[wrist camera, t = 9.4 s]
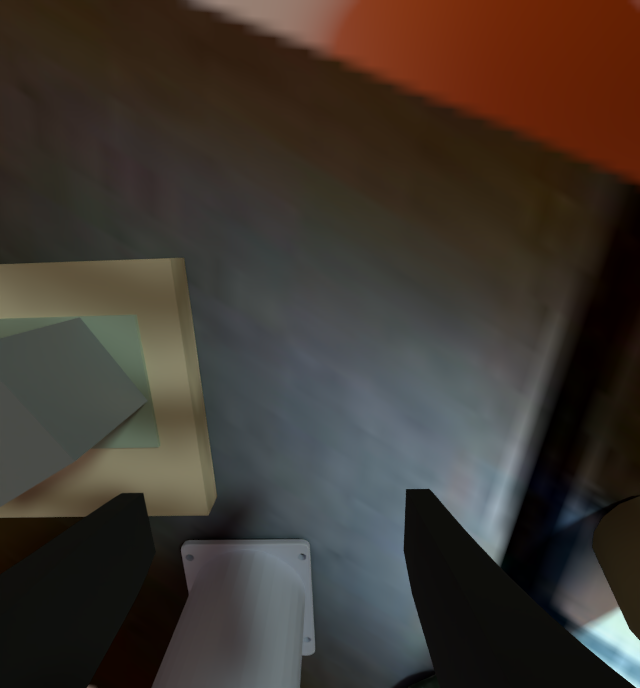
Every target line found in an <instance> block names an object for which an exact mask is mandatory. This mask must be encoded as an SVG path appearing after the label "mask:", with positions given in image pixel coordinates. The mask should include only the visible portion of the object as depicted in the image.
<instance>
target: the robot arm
mask: <svg viewBox="0 0 640 688" xmlns="http://www.w3.org/2000/svg"><path fill="white" fill-rule="evenodd" d="M155 553H156V551H155V547H154V542H153V537H152V532H151V527H150V523H149V518H148V513H147V508H146V503H145V498H144V494H143V493H121V494H119V495H118V496H116V497H114V498H113V499H111V500H110V501H108V502H107V503H105V504H104V505H102V506H101V507H99V508H98V509H96V510H95V511H93V512H92V513H90V514H89V515H87V516H86V517H85V518H83V519H82V520H80V521H79V522H77V523H76V524H74V525H73V526H72V527H70V528H69V529H67V530H66V531H64V532H63V533H61V534H60V535H58V536H57V537H56V538H54V539H53V540H51V541H50V542H48V543H47V544H45V545H44V546H42V547H41V548H40V549H38V550H37V551H35V552H34V553H32V554H31V555H29V556H28V557H26V558H25V559H23V560H22V561H20V562H19V563H17V564H16V565H14V566H12V567H11V568H9V569H8V570H6V571H5V572H3V573H2V574H0V688H87V686H88V685H89V683H90V681H91V679H92V677H93V676H94V674H95V672H96V670H97V668H98V667H99V665H100V663H101V661H102V659H103V658H104V656H105V654H106V652H107V650H108V649H109V647H110V645H111V643H112V641H113V640H114V638H115V636H116V634H117V632H118V630H119V629H120V627H121V625H122V623H123V621H124V619H125V618H126V616H127V614H128V612H129V610H130V608H131V607H132V605H133V603H134V601H135V599H136V597H137V595H138V593H139V591H140V589H141V586H142V584H143V582H144V580H145V577H146V575H147V572H148V570H149V567H150V565H151V562H152V560H153V557H154V555H155ZM181 554H182V560H183V565H184V571H185V576H186V582H187V587H188V593H189V596H188V599H187V601H186V604H185V606H184V608H183V611H182V613H181V616H180V618H179V621H178V623H177V626H176V628H175V631H174V633H173V636H172V638H171V641H170V643H169V646H168V648H167V650H166V653H165V655H164V658H163V660H162V663H161V665H160V668H159V670H158V673H157V675H156V678H155V680H154V683H153V685H152V687H151V688H300V676H301V661H302V655H311V654H313V653H314V652H315V632H314V613H313V594H312V575H311V556H310V544H309V542H308V541H306V540H303V539H268V540H188V541H185V542H184V543H183V545H182V547H181ZM301 554H304V555H301ZM404 554H405V560H406V565H407V570H408V576H409V581H410V586H411V591H412V595H413V598H414V602H415V605H416V609H417V612H418V616H419V619H420V623H421V626H422V629H423V633H424V636H425V639H426V643H427V646H428V650H429V653H430V656H431V660H432V663H433V666H434V670H435V673H436V677H437V680H438V683H439V687H440V688H636V687H635V686H633V685H632V684H631V683H630V682H628V681H627V680H626V679H625V678H623V677H622V676H621V675H619V674H618V673H617V672H616V671H614V670H613V669H612V668H611V667H609V666H608V665H607V664H606V663H605V662H603V661H602V660H601V659H600V658H599V657H597V656H596V655H595V654H594V653H592V652H591V651H590V650H589V649H588V648H587V647H585V646H584V645H583V644H582V643H581V642H580V641H578V640H577V639H576V638H575V637H574V636H573V635H572V634H570V633H569V632H568V631H567V630H566V629H565V628H564V627H562V626H561V625H560V624H559V623H558V622H557V621H556V620H554V619H553V618H552V617H551V616H550V615H549V614H548V613H547V612H546V611H545V610H543V609H542V608H541V607H540V606H539V605H538V604H537V603H536V602H535V601H534V600H533V599H532V598H531V597H530V596H529V595H528V594H527V593H525V592H524V591H523V590H522V589H521V588H520V587H519V586H518V585H517V584H516V583H515V582H514V581H513V580H512V579H511V578H510V577H509V576H508V575H507V574H506V573H505V572H504V571H503V570H502V569H501V568H500V567H499V566H498V565H497V564H496V563H495V562H494V561H493V559H492V558H491V557H490V556H489V555H488V554H487V553H486V552H485V551H484V550H483V549H482V548H481V547H480V546H479V545H478V544H477V542H476V541H475V540H474V539H473V538H472V537H471V536H470V535H469V534H468V533H467V532H466V530H465V529H464V528H463V527H462V526H461V525H460V524H459V523H458V521H457V520H456V519H455V518H454V517H453V516H452V515H451V513H450V512H449V511H448V510H447V509H446V508H445V506H444V505H443V504H442V503H441V502H440V500H439V499H438V498H437V497H436V496H435V495H434V493H433V492H432V491H431V490H430V489H406V507H405V532H404Z"/></svg>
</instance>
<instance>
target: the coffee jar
mask: <svg viewBox="0 0 640 688" xmlns="http://www.w3.org/2000/svg"><path fill="white" fill-rule="evenodd" d="M408 688H440V687H439V683H438V680H437V677H436V674H435V675H433V676H431V677H429V678H426V679H424V680H421V681H419V682H417V683H415V684H412V685H410V686H409V687H408Z"/></svg>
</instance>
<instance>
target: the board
mask: <svg viewBox="0 0 640 688" xmlns="http://www.w3.org/2000/svg"><path fill="white" fill-rule="evenodd" d="M79 317H80V318H81V319H82V321H83V322H84V323H85V324H86V325H87V327H88V328H89V329H90V330H91V332H92V333H93V334H94V335H95V337H96V338H97V339H98V340H99V341H100V343H101V344H102V345H103V346H104V348H105V349H106V350H107V351H108V353H109V354H110V355H111V356H112V357H113V359H114V360H115V361H116V362H117V364H118V365H119V366H120V367H121V368H122V370H123V371H124V372H125V373H126V375H127V376H128V377H129V378H130V380H131V381H132V382H133V383H134V384H135V386H136V387H137V388H138V389H139V391H140V392H141V393H142V394H143V396H144V397H145V398H146V399H147V400H148V401H147V402H146V403H145V404H143V405H142V406H141V407H140V408H139V409H137V410H136V411H135V412H134V413H133V414H131V415H130V416H129V417H128V418H127V419H125V420H124V421H123V422H122V423H121V424H119V425H118V426H117V427H116V428H115V429H113V430H112V431H111V432H110V433H109V434H107V435H106V436H105V437H104V438H103V439H101V440H100V441H99V442H98V443H97V444H95V445H94V446H93V447H92V448H90V449H89V450H88V451H87V452H86V453H84V454H83V455H82V456H81V457H80V458H78V459H77V460H76V461H75V462H73V463H71V464H70V465H68V466H67V467H65V468H63V469H62V470H60V471H58V472H57V473H55V474H53V475H52V476H50V477H49V478H47V479H45V480H44V481H42V482H40V483H39V484H37V485H35V486H34V487H32V488H31V489H29V490H27V491H26V492H24V493H22V494H21V495H19V496H17V497H16V498H14V499H13V500H11V501H9V502H8V503H6V504H4V505H3V506H1V507H0V518H4V517H86V516H87V515H89V514H90V513H92V512H93V511H95V510H96V509H98V508H99V507H101V506H102V505H104V504H105V503H107V502H108V501H110V500H111V499H113V498H114V497H116V496H118V495H119V494H121V493H143V494H144V498H145V503H146V508H147V513H148V516H192V515H209V513H210V511H211V509H212V506H213V504H214V502H215V500H216V498H217V493H216V486H215V478H214V471H213V464H212V457H211V450H210V442H209V435H208V428H207V421H206V413H205V406H204V399H203V392H202V385H201V377H200V370H199V363H198V356H197V349H196V341H195V334H194V327H193V320H192V312H191V305H190V298H189V291H188V284H187V276H186V269H185V262H184V258H164V259H136V260H108V261H80V262H52V263H24V264H0V338H4V337H7V336H11V335H15V334H19V333H22V332H26V331H30V330H34V329H37V328H41V327H45V326H49V325H52V324H56V323H60V322H64V321H67V320H71V319H75V318H79Z"/></svg>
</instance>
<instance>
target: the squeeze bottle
mask: <svg viewBox="0 0 640 688" xmlns="http://www.w3.org/2000/svg"><path fill="white" fill-rule="evenodd" d="M592 548H593V550H594V553H595V555H596V557H597V559H598V562H599V564H600V566H601V568H602V570H603V572H604V575H605V577H606V579H607V581H608V583H609V585H610V588H611V590H612V592H613V594H614V596H615V598H616V601H617V603H618V605H619V607H620V609H621V611H622V614H623V616H624V618H625V620H626V622H627V624H628V627H629V629H630V630H631V631H632V632H633V633H634V635H635V636H636V637H637V638H638V639H639V640H640V496H639V497H636V498H634V499H631V500H629V501H626V502H624V503H621V504H619V505H617V506H616V507H615V508H614V509H612V510H611V511H610V512H609V513H607V514H606V515H605V516H604V517H603V518H602V520H601V521H600V523H599V525H598V526H597V528H596V529H595V531H594V535H593V544H592Z"/></svg>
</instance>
